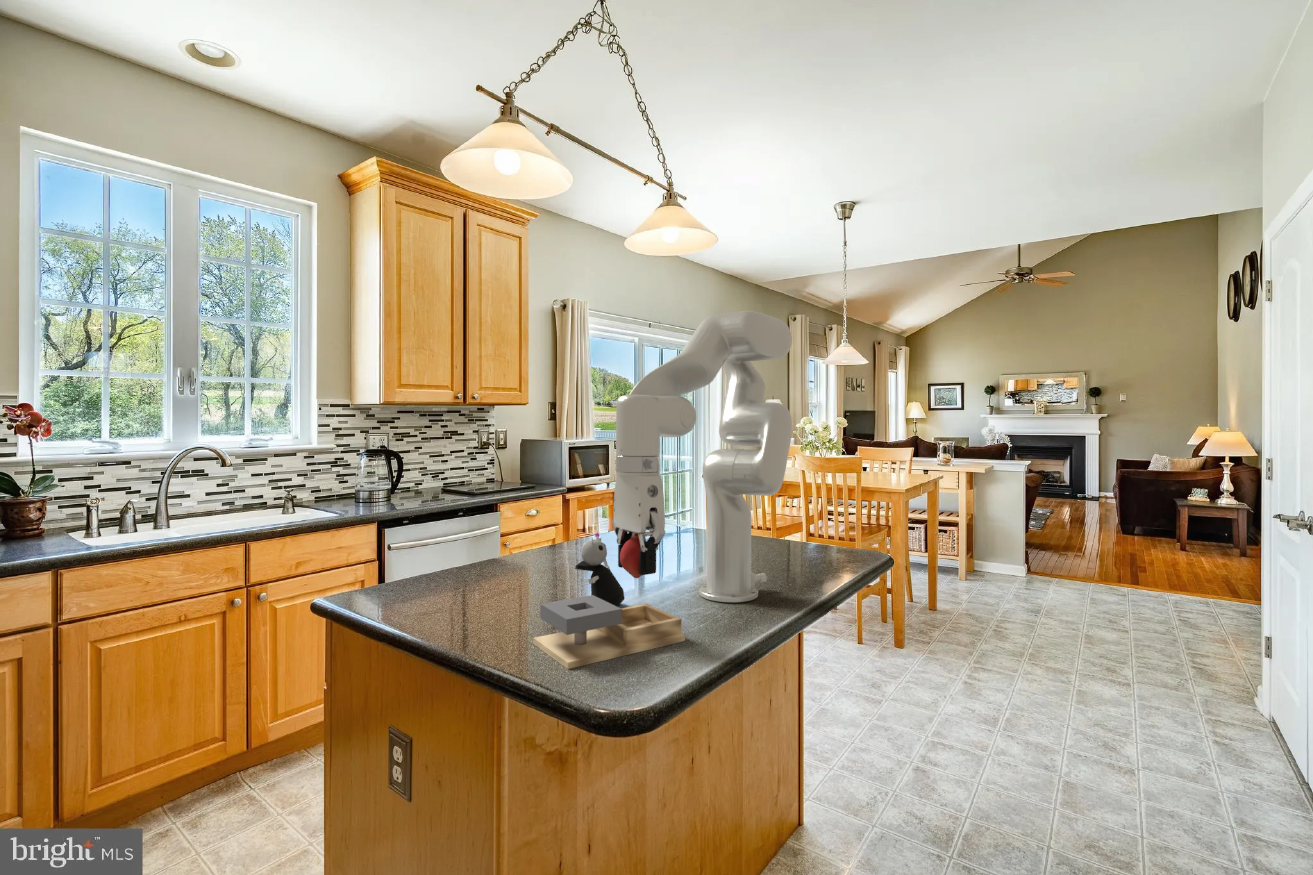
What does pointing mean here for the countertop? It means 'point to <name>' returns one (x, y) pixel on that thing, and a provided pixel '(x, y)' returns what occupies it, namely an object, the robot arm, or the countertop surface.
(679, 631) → the wooden tray
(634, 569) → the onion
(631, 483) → the robot arm
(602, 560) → the toy
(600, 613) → the gray holed slab
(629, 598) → the countertop surface
